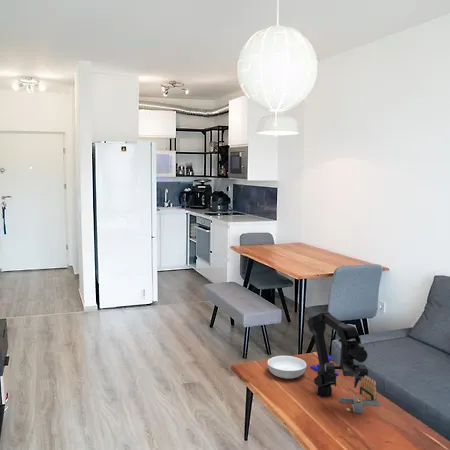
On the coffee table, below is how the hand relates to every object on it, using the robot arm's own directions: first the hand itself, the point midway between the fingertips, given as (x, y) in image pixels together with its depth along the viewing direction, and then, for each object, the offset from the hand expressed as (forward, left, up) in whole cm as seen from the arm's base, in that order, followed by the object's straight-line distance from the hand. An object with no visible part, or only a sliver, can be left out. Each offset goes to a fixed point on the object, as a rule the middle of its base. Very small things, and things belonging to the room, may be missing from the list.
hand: (345, 386), depth 212 cm
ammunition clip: (+13, +14, -12) cm, 23 cm away
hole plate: (+8, +1, -12) cm, 14 cm away
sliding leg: (+6, +2, -11) cm, 12 cm away
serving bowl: (-26, +36, -12) cm, 46 cm away
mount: (-5, +44, -12) cm, 46 cm away
